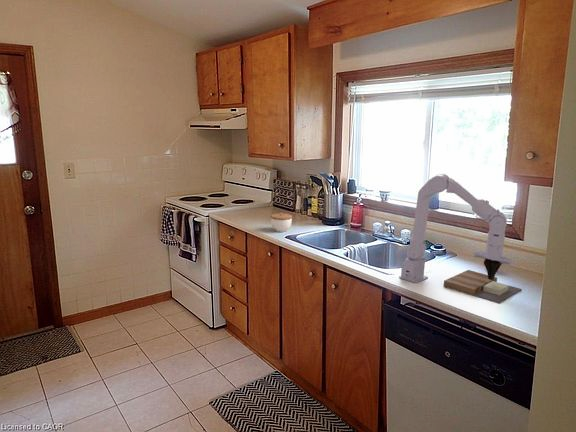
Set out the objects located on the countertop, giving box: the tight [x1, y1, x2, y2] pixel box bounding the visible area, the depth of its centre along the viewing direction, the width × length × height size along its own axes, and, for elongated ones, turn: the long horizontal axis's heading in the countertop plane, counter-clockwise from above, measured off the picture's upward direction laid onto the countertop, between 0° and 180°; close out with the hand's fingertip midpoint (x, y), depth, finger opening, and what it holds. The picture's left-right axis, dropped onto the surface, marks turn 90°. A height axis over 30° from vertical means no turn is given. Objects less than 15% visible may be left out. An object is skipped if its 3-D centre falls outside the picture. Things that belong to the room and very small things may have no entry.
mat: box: [472, 285, 523, 304], centre depth 162 cm, size 20×10×1 cm, turn 131°
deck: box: [443, 269, 498, 296], centre depth 169 cm, size 20×12×2 cm, turn 131°
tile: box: [483, 281, 510, 295], centre depth 163 cm, size 8×6×2 cm
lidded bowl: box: [270, 211, 293, 233], centre depth 254 cm, size 13×13×11 cm
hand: (491, 278), depth 164 cm, fingers closed
